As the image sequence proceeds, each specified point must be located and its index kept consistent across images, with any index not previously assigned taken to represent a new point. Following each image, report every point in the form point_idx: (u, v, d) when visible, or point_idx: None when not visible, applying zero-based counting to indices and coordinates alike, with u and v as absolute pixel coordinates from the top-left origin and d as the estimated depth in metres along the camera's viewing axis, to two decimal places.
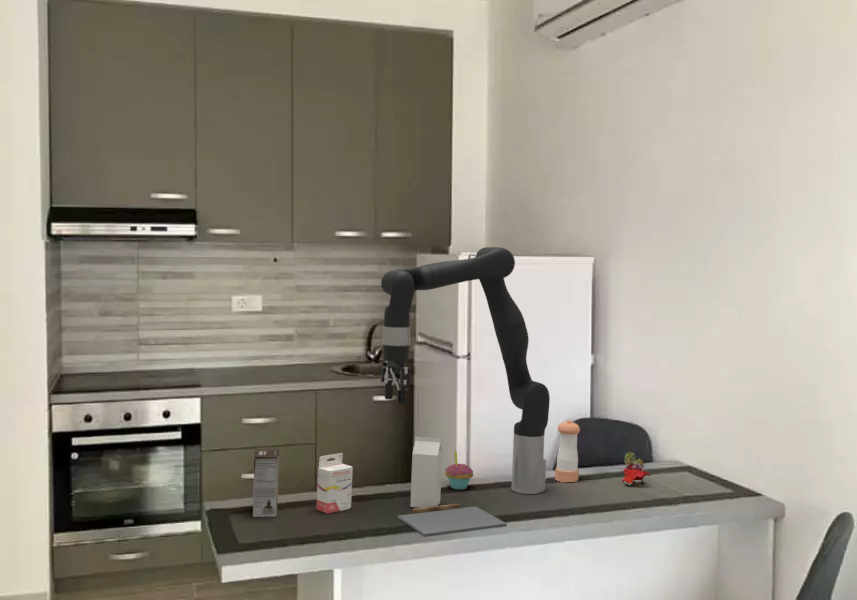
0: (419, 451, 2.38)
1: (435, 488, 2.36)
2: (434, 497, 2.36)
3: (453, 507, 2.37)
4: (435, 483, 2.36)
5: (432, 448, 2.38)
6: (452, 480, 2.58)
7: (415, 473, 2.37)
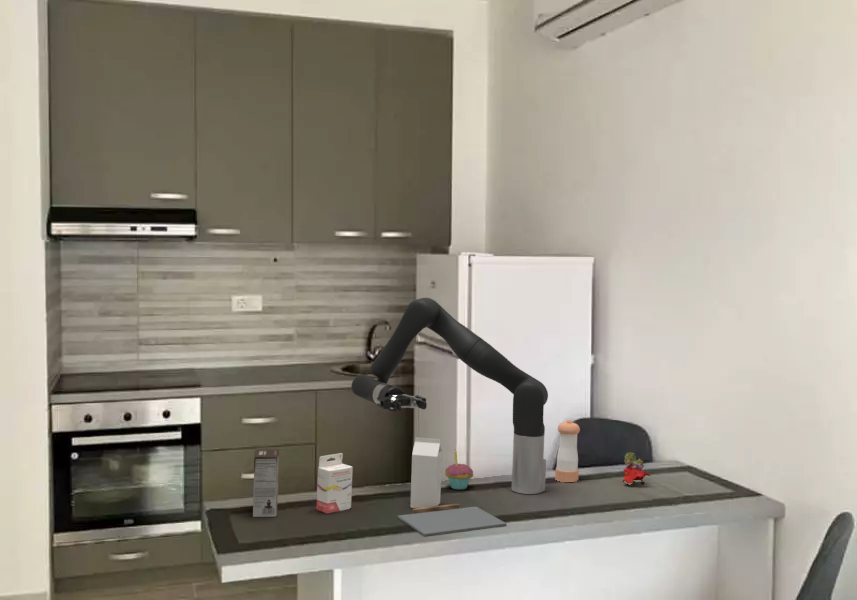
0: (419, 452, 2.37)
1: (435, 489, 2.36)
2: (434, 498, 2.36)
3: (453, 507, 2.37)
4: (435, 484, 2.36)
5: (432, 449, 2.38)
6: (452, 480, 2.58)
7: (415, 474, 2.37)
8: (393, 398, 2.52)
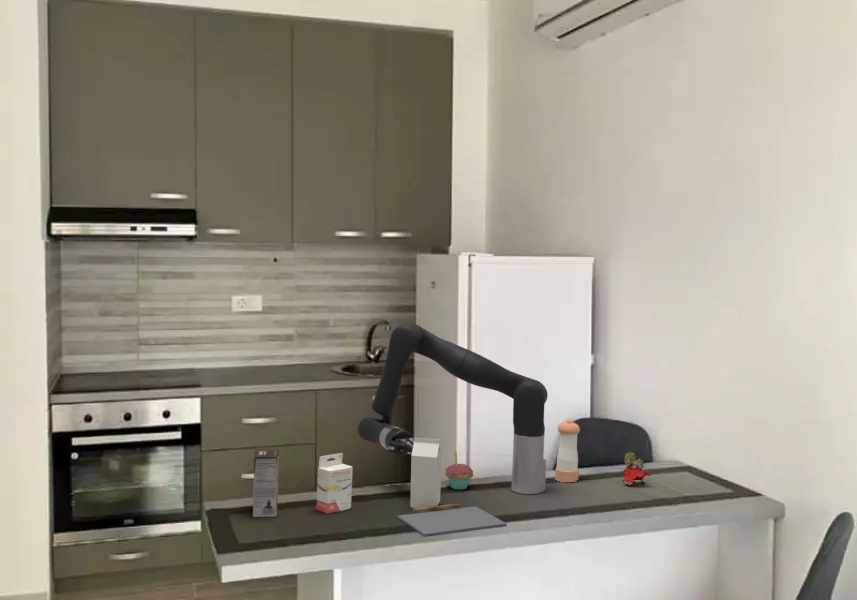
0: (418, 453, 2.36)
1: (435, 489, 2.36)
2: (434, 498, 2.36)
3: (453, 507, 2.37)
4: (435, 484, 2.36)
5: (431, 450, 2.36)
6: (452, 480, 2.58)
7: (415, 475, 2.36)
8: (408, 443, 2.48)
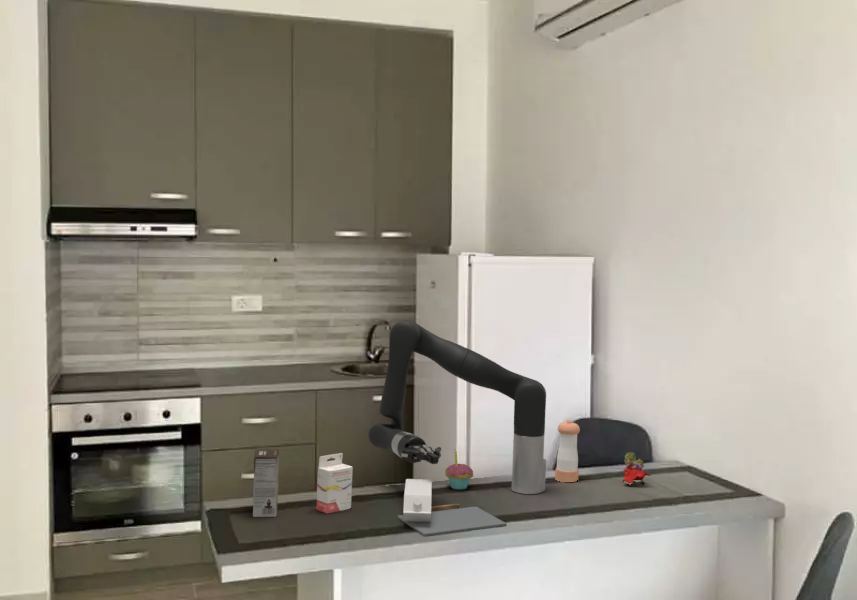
0: (410, 519, 2.23)
1: None
2: None
3: (453, 507, 2.37)
4: None
5: (423, 517, 2.22)
6: (452, 480, 2.58)
7: None
8: (422, 450, 2.40)
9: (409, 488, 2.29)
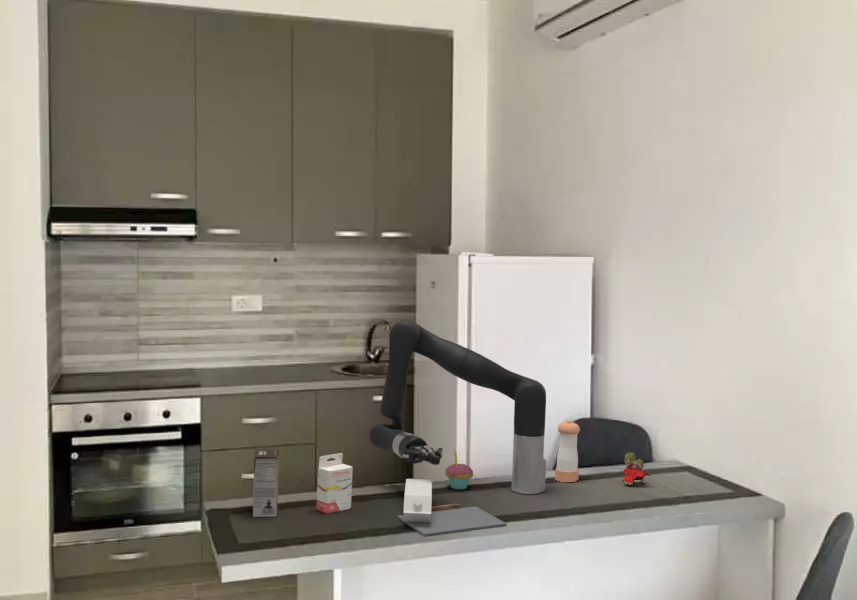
0: (410, 519, 2.23)
1: None
2: None
3: (453, 507, 2.37)
4: None
5: (423, 517, 2.22)
6: (452, 480, 2.58)
7: None
8: (424, 451, 2.39)
9: (410, 488, 2.29)
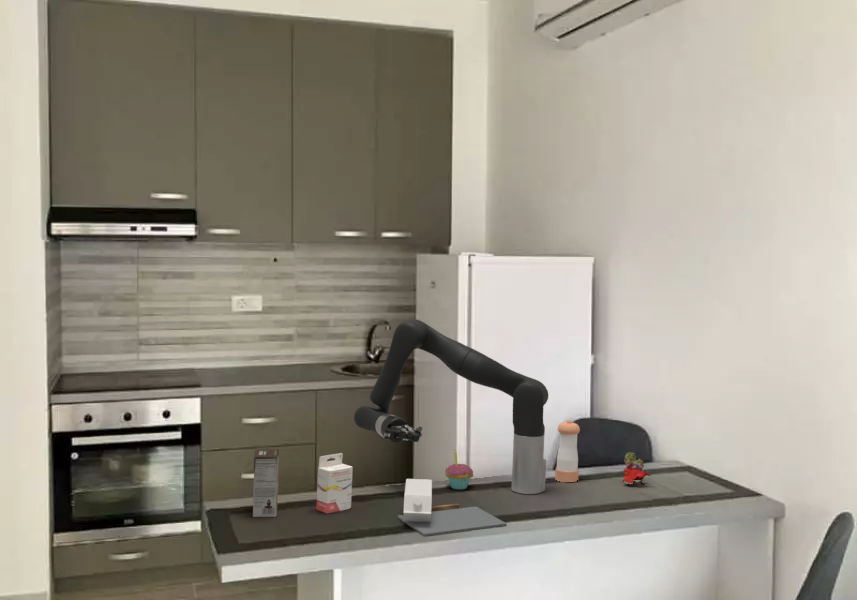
0: (410, 519, 2.23)
1: None
2: None
3: (453, 507, 2.37)
4: None
5: (423, 517, 2.22)
6: (452, 480, 2.58)
7: None
8: (404, 429, 2.53)
9: (410, 488, 2.29)
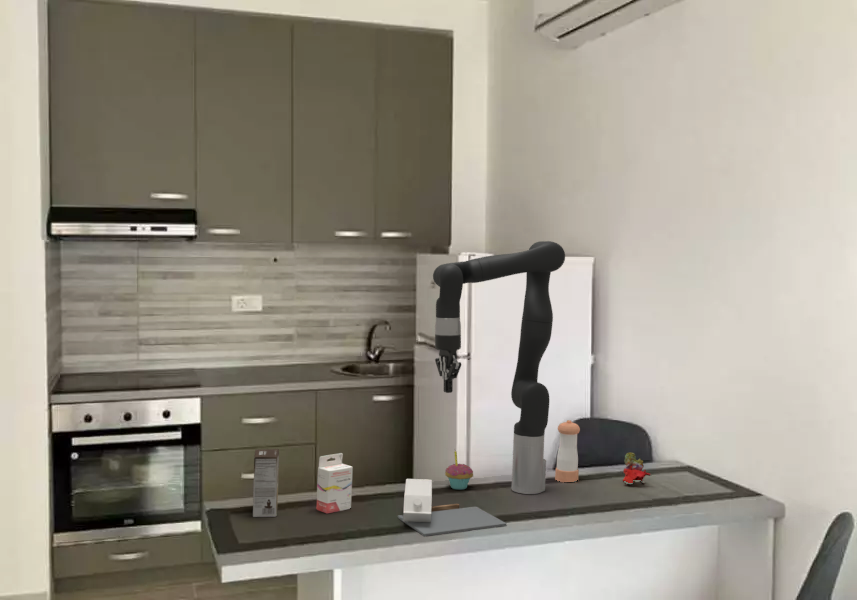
0: (410, 519, 2.23)
1: None
2: None
3: (453, 507, 2.37)
4: None
5: (423, 517, 2.22)
6: (452, 480, 2.58)
7: None
8: None
9: (410, 488, 2.29)
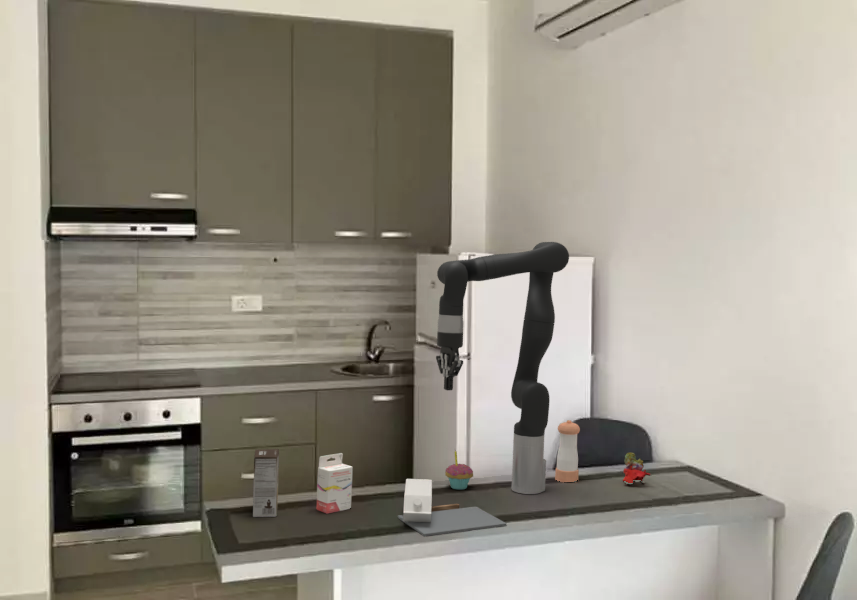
0: (410, 519, 2.23)
1: None
2: None
3: (453, 507, 2.37)
4: None
5: (423, 517, 2.22)
6: (452, 480, 2.58)
7: None
8: None
9: (410, 488, 2.29)
